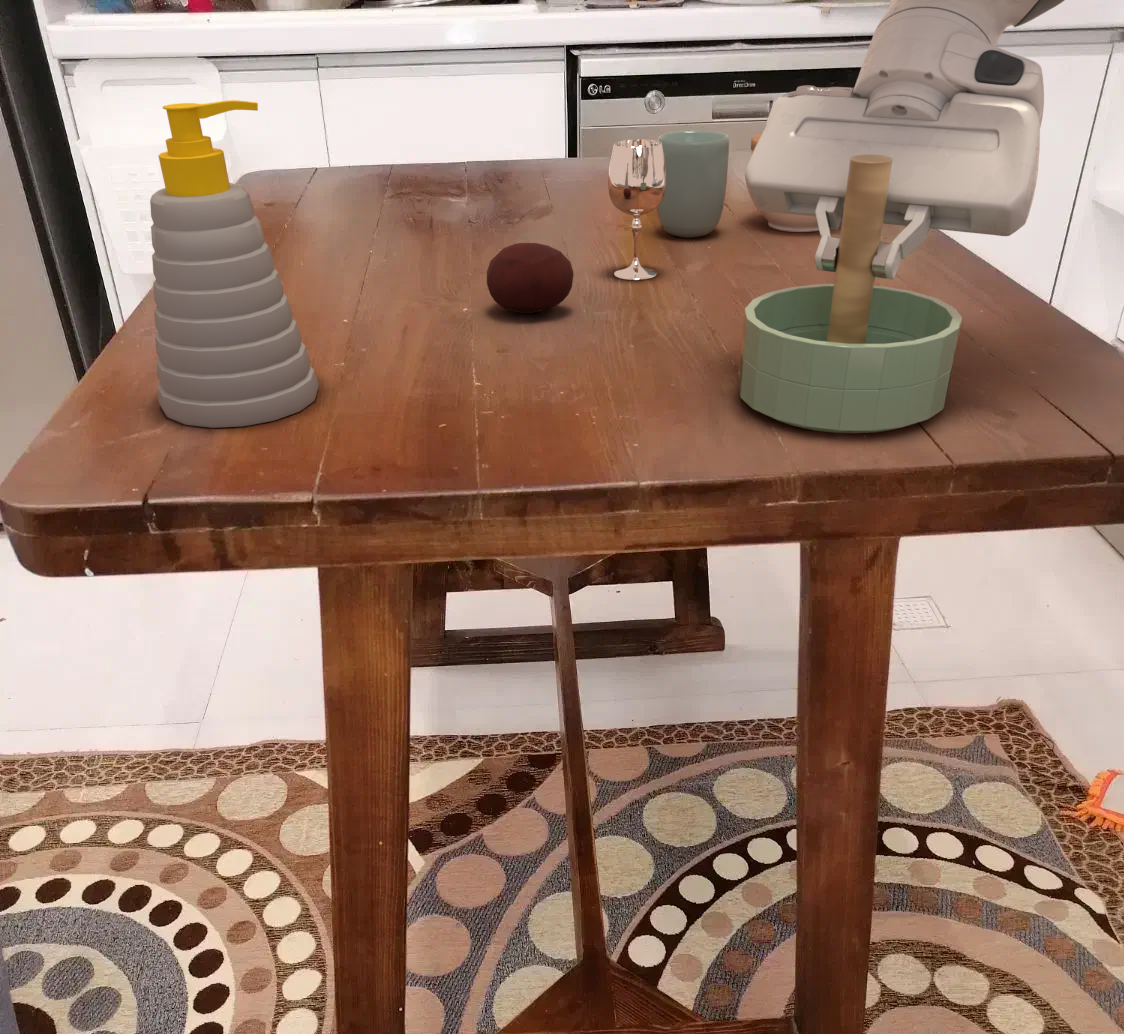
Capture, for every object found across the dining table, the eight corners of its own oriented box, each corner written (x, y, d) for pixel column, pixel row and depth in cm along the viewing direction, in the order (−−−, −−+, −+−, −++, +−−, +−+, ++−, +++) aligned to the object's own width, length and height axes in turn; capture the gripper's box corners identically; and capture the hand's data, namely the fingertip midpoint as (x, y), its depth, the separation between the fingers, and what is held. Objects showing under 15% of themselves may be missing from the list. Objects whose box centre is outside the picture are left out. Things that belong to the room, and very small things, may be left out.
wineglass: (612, 266, 116) (613, 138, 109) (666, 267, 115) (671, 138, 108) (603, 280, 112) (603, 148, 104) (659, 282, 111) (663, 149, 103)
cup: (642, 237, 126) (644, 138, 120) (676, 223, 131) (680, 128, 125) (702, 245, 122) (707, 144, 116) (734, 230, 127) (741, 133, 121)
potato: (539, 329, 100) (537, 259, 96) (470, 314, 104) (465, 246, 100) (586, 309, 104) (586, 241, 101) (518, 295, 108) (515, 230, 105)
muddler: (863, 382, 86) (898, 151, 76) (872, 402, 82) (910, 164, 72) (806, 382, 86) (834, 152, 76) (813, 402, 82) (843, 164, 72)
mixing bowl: (921, 366, 90) (936, 283, 86) (964, 439, 78) (984, 346, 74) (732, 366, 91) (738, 284, 87) (745, 438, 79) (753, 346, 75)
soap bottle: (327, 417, 84) (279, 110, 71) (157, 437, 81) (77, 123, 69) (313, 365, 93) (268, 87, 81) (161, 381, 91) (91, 97, 78)
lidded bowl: (803, 208, 136) (814, 105, 129) (876, 227, 127) (892, 118, 120) (723, 222, 131) (729, 116, 124) (793, 243, 122) (805, 131, 115)
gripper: (772, 54, 80) (708, 228, 79) (1067, 66, 72) (998, 260, 71) (787, 115, 86) (728, 277, 85) (1062, 133, 77) (999, 313, 77)
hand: (853, 270), depth 78 cm, fingers closed on muddler, 3 cm apart
